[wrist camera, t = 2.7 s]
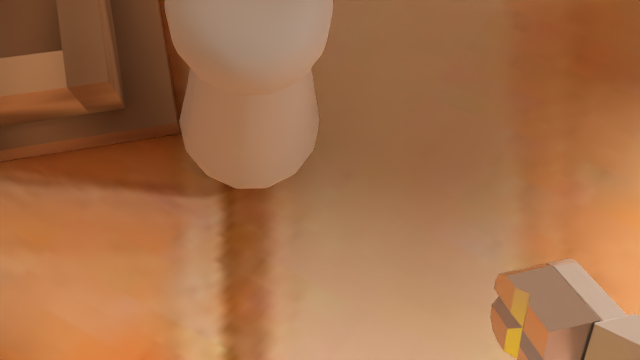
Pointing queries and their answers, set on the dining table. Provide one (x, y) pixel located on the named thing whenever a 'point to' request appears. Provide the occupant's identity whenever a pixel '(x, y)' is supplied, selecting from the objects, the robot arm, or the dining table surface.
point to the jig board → (82, 75)
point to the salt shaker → (249, 85)
